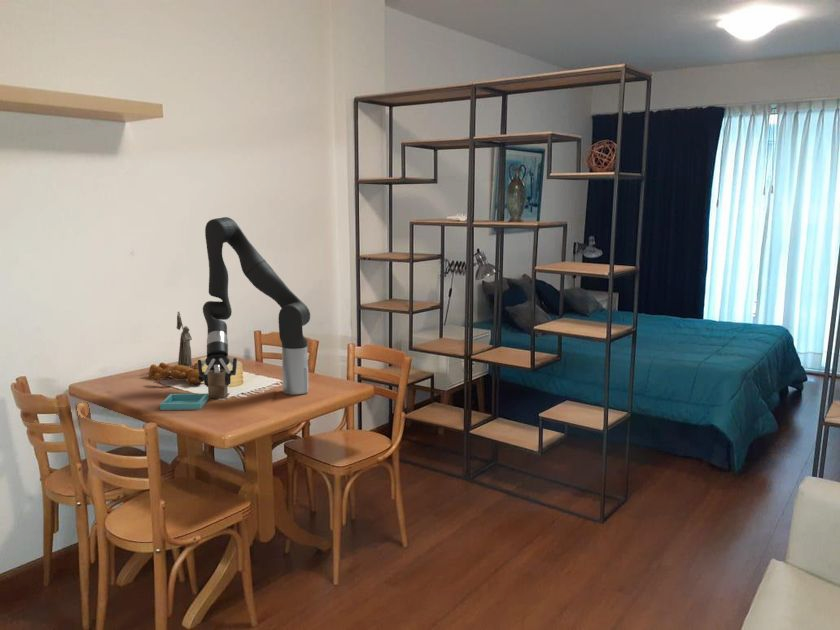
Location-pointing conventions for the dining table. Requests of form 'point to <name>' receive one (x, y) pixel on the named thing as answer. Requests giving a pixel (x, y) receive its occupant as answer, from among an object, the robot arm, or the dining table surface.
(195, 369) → the toy
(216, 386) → the sleeve
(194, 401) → the tray
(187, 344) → the wizard figurine
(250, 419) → the dining table surface
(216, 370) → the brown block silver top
